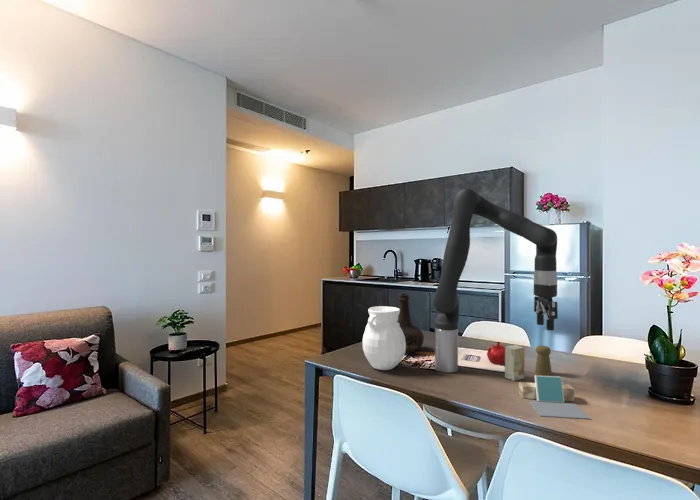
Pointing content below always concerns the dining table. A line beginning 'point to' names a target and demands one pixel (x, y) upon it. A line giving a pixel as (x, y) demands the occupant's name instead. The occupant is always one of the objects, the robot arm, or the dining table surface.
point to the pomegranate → (497, 354)
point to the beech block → (530, 391)
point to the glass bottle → (409, 326)
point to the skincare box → (514, 362)
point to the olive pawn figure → (543, 361)
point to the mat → (559, 410)
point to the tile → (549, 388)
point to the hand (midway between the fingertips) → (545, 327)
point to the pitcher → (384, 338)
